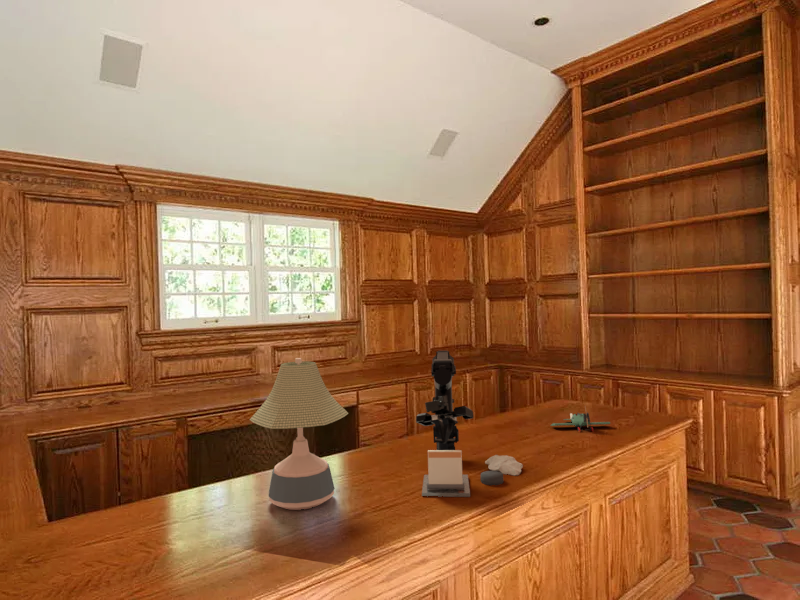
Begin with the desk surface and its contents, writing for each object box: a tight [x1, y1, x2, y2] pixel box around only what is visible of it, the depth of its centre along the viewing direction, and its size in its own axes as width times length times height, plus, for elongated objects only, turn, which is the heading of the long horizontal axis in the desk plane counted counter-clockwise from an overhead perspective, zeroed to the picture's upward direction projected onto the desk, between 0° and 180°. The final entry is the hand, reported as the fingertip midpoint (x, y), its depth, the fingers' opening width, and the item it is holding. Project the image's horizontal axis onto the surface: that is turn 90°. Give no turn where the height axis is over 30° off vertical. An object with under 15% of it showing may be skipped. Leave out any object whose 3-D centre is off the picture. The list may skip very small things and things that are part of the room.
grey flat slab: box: [421, 474, 471, 498], centre depth 153 cm, size 16×14×1 cm
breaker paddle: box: [427, 449, 464, 489], centre depth 149 cm, size 2×11×11 cm, turn 85°
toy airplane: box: [550, 405, 611, 432], centre depth 222 cm, size 22×25×11 cm
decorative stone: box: [484, 454, 524, 477], centre depth 168 cm, size 11×4×15 cm
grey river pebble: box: [480, 470, 504, 486], centre depth 157 cm, size 7×7×2 cm
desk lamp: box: [249, 357, 349, 511], centre depth 146 cm, size 26×28×42 cm
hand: (444, 442), depth 159 cm, fingers closed
